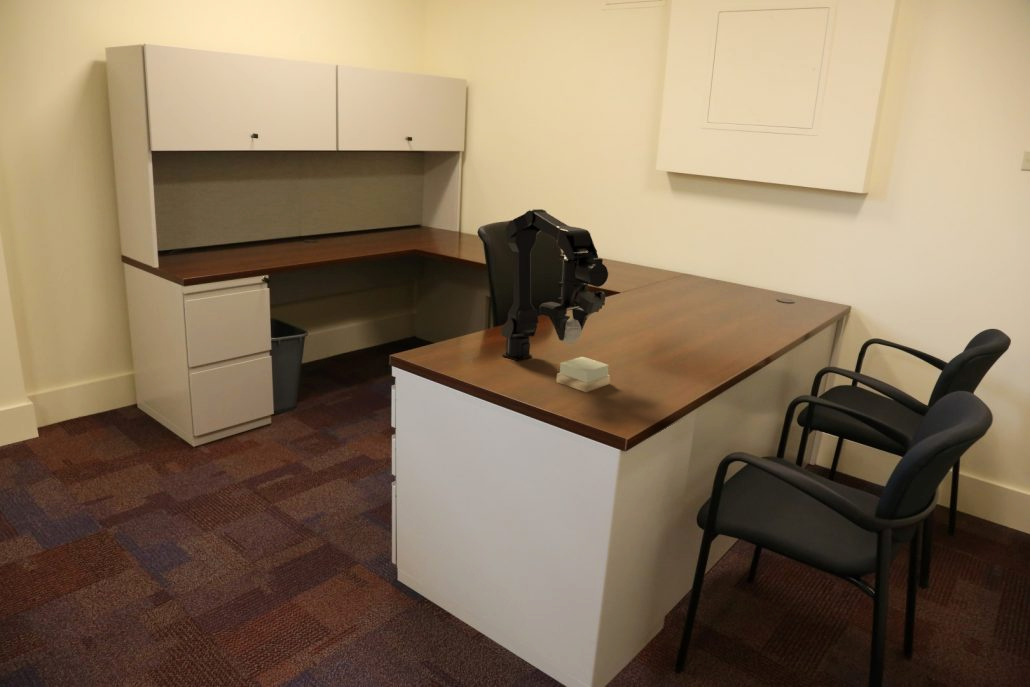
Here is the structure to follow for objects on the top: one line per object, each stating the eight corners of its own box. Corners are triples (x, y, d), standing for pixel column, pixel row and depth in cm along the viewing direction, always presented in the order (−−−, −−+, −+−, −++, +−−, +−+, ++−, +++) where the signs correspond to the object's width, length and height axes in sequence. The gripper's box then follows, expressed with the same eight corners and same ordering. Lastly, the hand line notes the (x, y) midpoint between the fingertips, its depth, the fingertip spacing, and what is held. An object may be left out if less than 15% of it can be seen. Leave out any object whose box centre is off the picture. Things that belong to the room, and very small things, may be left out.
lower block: (556, 384, 191) (557, 373, 191) (579, 376, 198) (580, 365, 198) (585, 394, 185) (586, 383, 184) (609, 385, 192) (610, 375, 191)
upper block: (559, 373, 190) (560, 362, 189) (581, 366, 197) (582, 356, 196) (586, 382, 184) (587, 371, 184) (607, 375, 191) (608, 364, 190)
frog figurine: (562, 348, 184) (564, 321, 182) (553, 340, 190) (555, 315, 189) (584, 347, 186) (586, 321, 184) (575, 339, 192) (577, 314, 190)
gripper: (573, 289, 172) (569, 351, 176) (621, 280, 184) (616, 339, 189) (539, 281, 179) (536, 341, 183) (587, 273, 192) (583, 330, 196)
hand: (569, 338), depth 188 cm, fingers closed on frog figurine, 6 cm apart
